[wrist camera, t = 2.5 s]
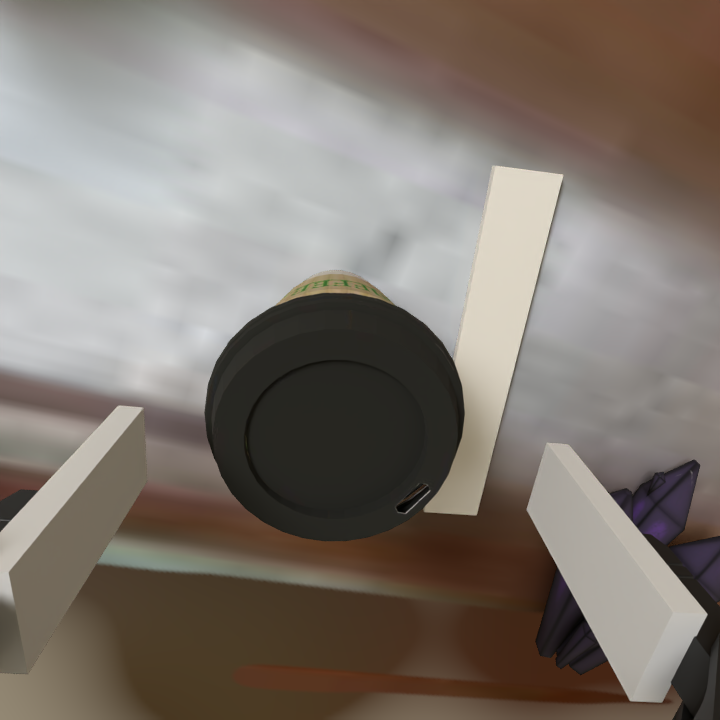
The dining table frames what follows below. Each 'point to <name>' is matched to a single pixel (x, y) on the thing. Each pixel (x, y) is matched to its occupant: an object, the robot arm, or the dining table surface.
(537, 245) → the cream flat slat
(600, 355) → the dining table surface
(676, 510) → the crystal
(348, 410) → the coffee cup
